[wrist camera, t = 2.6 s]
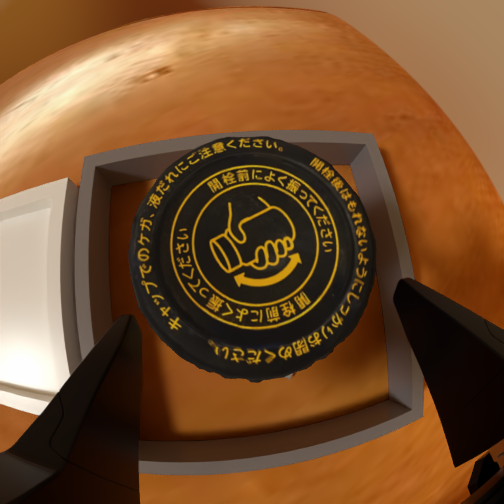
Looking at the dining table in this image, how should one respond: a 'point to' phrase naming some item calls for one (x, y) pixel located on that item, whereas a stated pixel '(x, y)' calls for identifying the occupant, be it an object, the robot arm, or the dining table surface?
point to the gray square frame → (388, 273)
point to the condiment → (252, 258)
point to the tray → (38, 294)
